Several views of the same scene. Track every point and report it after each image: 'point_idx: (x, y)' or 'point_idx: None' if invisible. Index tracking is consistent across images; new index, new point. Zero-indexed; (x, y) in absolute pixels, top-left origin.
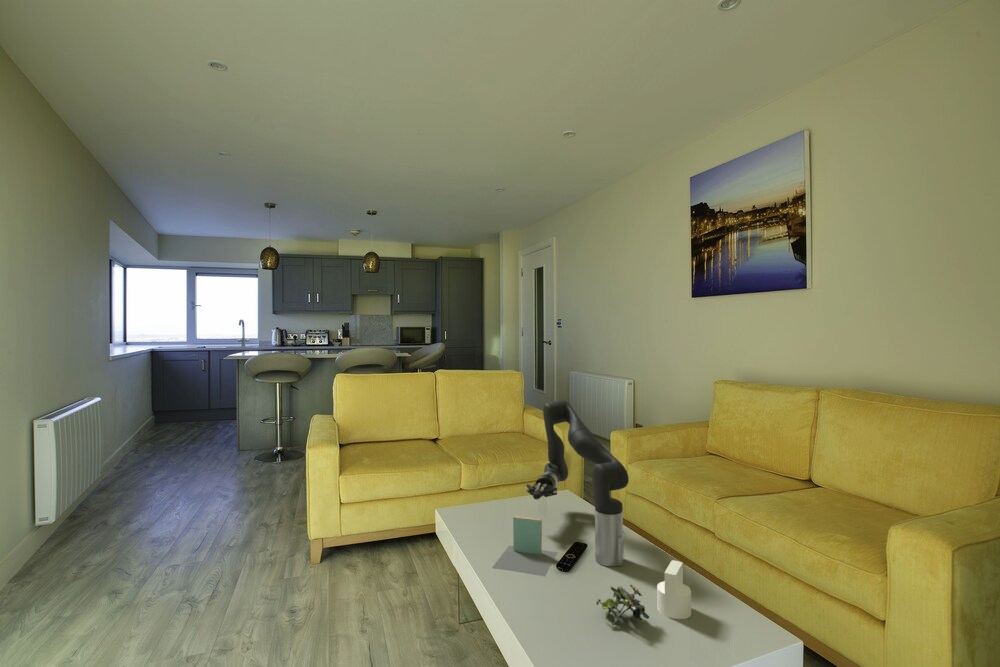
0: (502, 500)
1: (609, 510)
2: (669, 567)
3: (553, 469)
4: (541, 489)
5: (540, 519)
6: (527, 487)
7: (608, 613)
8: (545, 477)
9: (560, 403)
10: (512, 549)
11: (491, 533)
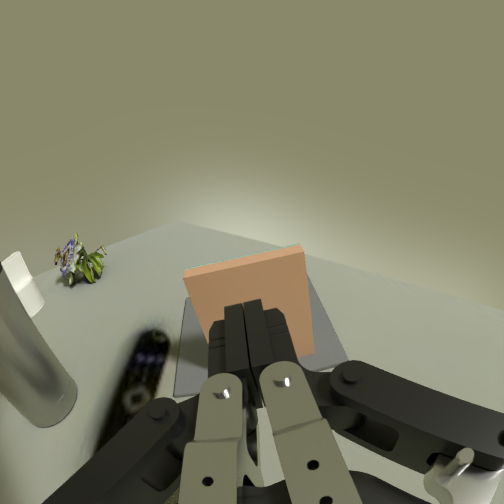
0: None
1: None
2: (8, 259)
3: None
4: (224, 418)
5: (186, 273)
6: (482, 421)
7: (98, 254)
8: None
9: None
10: (320, 347)
11: (474, 392)
